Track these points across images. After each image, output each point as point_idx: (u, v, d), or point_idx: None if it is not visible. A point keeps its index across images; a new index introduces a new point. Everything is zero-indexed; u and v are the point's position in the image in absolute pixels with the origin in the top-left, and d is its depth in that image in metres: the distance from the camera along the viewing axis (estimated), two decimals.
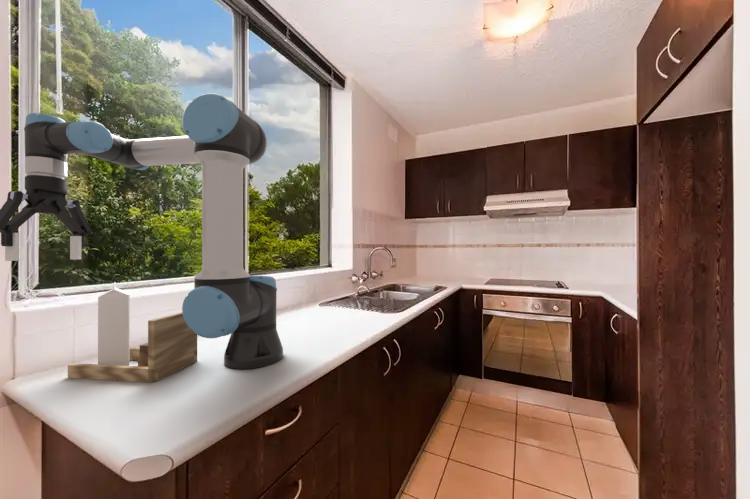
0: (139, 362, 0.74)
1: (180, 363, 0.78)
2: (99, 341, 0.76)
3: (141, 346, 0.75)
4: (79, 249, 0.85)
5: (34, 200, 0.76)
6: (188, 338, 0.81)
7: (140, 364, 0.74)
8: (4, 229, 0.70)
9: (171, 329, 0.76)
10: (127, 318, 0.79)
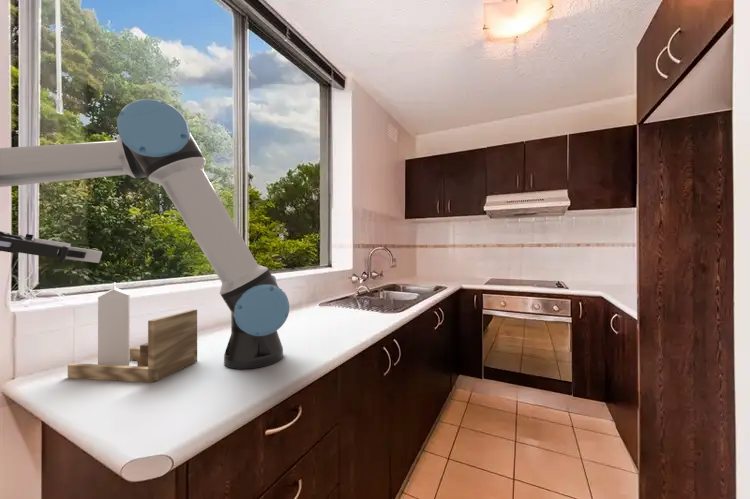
0: (139, 362, 0.74)
1: (180, 363, 0.78)
2: (99, 341, 0.76)
3: (142, 346, 0.75)
4: None
5: None
6: (188, 338, 0.81)
7: (140, 364, 0.74)
8: None
9: (171, 329, 0.76)
10: (127, 318, 0.79)
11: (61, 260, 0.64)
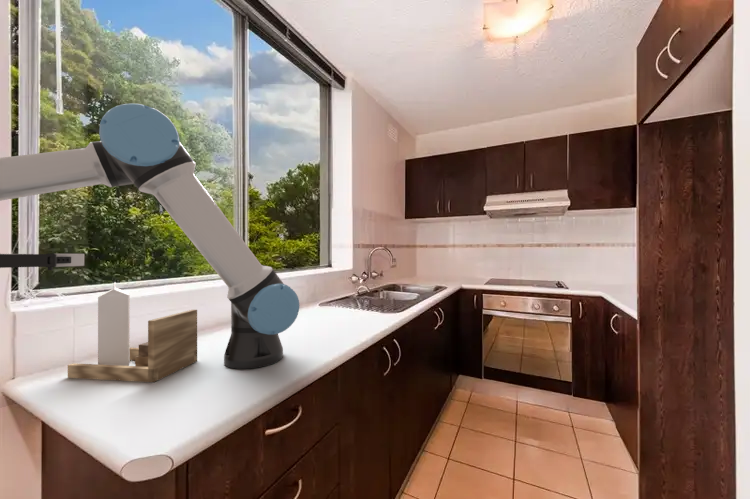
0: (136, 362, 0.74)
1: (180, 363, 0.78)
2: (99, 341, 0.76)
3: (140, 345, 0.76)
4: None
5: None
6: (188, 338, 0.81)
7: (137, 364, 0.74)
8: None
9: (171, 329, 0.76)
10: (127, 318, 0.79)
11: (50, 268, 0.61)
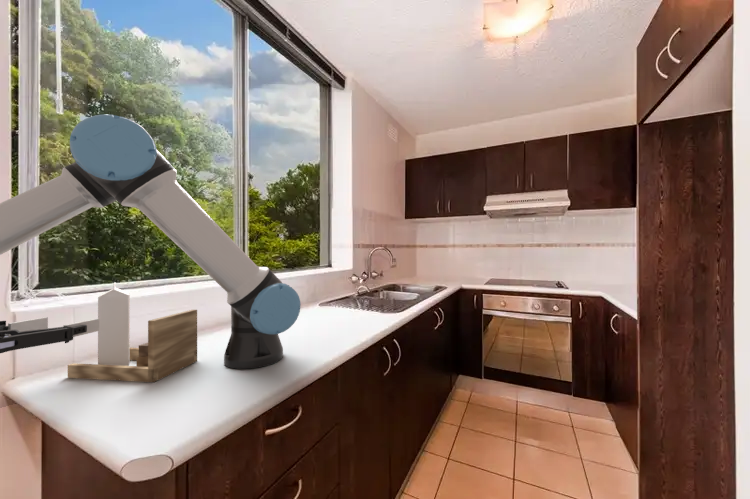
0: (138, 362, 0.74)
1: (180, 363, 0.78)
2: (99, 341, 0.76)
3: (140, 346, 0.75)
4: (32, 319, 0.68)
5: None
6: (188, 338, 0.81)
7: (139, 364, 0.74)
8: None
9: (171, 329, 0.76)
10: (127, 318, 0.79)
11: (67, 341, 0.62)
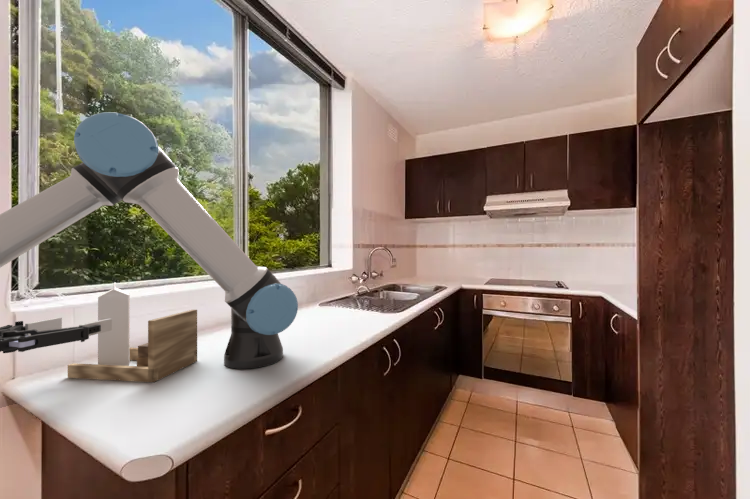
0: (138, 363, 0.74)
1: (180, 363, 0.78)
2: (99, 341, 0.76)
3: (139, 347, 0.75)
4: (47, 320, 0.71)
5: (17, 336, 0.58)
6: (188, 338, 0.81)
7: (139, 365, 0.74)
8: None
9: (171, 329, 0.76)
10: (127, 318, 0.79)
11: (83, 340, 0.65)
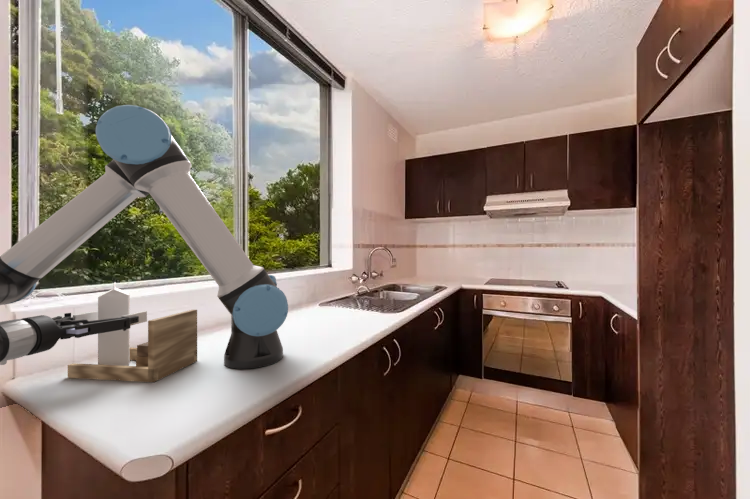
0: (137, 362, 0.74)
1: (180, 363, 0.78)
2: (99, 341, 0.76)
3: (139, 346, 0.75)
4: (90, 312, 0.80)
5: (72, 324, 0.67)
6: (188, 338, 0.81)
7: (138, 364, 0.74)
8: None
9: (171, 329, 0.76)
10: None
11: (125, 329, 0.74)
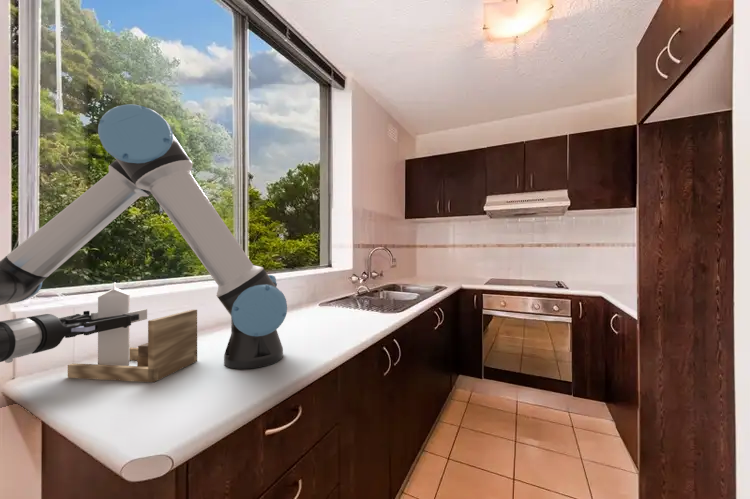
0: (138, 363, 0.74)
1: (180, 363, 0.78)
2: (99, 341, 0.76)
3: (140, 347, 0.75)
4: None
5: (76, 323, 0.68)
6: (188, 338, 0.81)
7: (140, 365, 0.74)
8: None
9: (171, 329, 0.76)
10: None
11: (126, 326, 0.77)
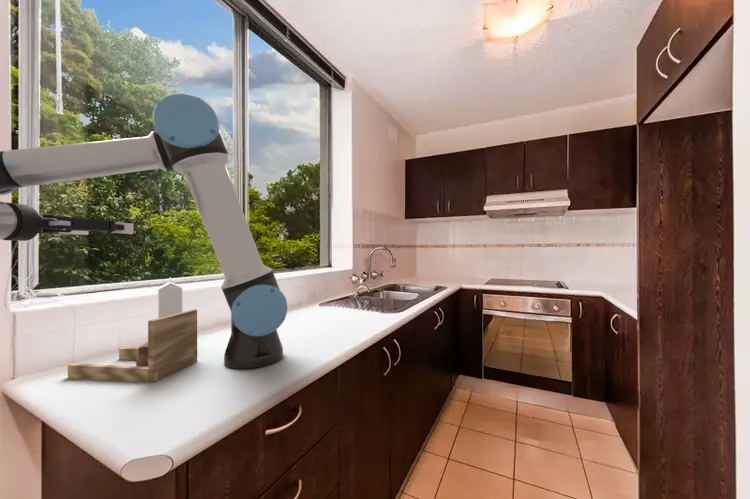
0: (138, 363, 0.74)
1: (180, 363, 0.78)
2: None
3: (141, 348, 0.74)
4: None
5: (55, 218, 0.67)
6: (188, 338, 0.81)
7: (139, 365, 0.74)
8: None
9: (171, 329, 0.76)
10: (181, 307, 0.96)
11: (110, 233, 0.73)
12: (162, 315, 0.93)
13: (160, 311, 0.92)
